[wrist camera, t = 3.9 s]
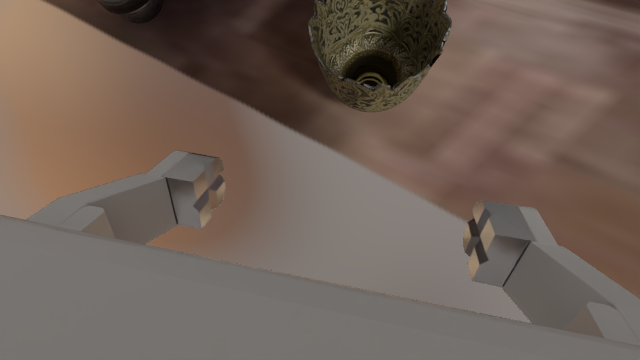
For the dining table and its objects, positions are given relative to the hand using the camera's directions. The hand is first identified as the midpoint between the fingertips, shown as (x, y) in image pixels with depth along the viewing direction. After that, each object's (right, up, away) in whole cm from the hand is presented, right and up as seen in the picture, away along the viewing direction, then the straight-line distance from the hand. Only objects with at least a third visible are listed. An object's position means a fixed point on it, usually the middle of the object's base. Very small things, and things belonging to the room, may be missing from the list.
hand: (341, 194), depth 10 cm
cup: (+3, +7, +14) cm, 17 cm away
